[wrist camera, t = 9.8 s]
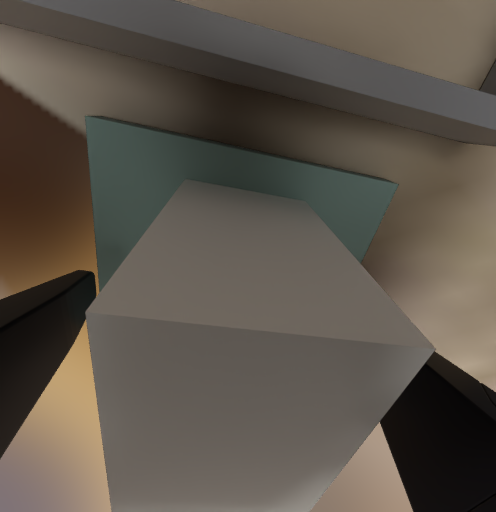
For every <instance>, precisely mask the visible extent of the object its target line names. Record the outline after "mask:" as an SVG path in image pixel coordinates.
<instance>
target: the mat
mask: <svg viewBox="0 0 496 512" xmlns="http://www.w3.org/2000/svg"><path fill="white" fill-rule="evenodd" d="M85 121H86V133H87V144H88V158H89V170H90V182H91V194H92V206H93V218H94V230H95V242H96V254H97V267H98V278H99V291H100V292H101V290H102V289H103V288H104V286H105V285H106V284H107V282H108V281H109V280H110V278H111V277H112V276H113V274H114V273H115V272H116V270H117V269H118V268H119V266H120V265H121V264H122V262H123V261H124V260H125V258H126V257H127V256H128V254H129V253H130V252H131V250H132V249H133V248H134V246H135V245H136V244H137V242H138V241H139V240H140V238H141V237H142V236H143V234H144V233H145V232H146V230H147V229H148V228H149V226H150V225H151V224H152V222H153V221H154V220H155V218H156V217H157V216H158V214H159V213H160V212H161V210H162V209H163V208H164V206H165V205H166V204H167V202H168V201H169V200H170V198H171V197H172V196H173V194H174V193H175V192H176V190H177V189H178V188H179V187H180V185H181V184H182V183H183V181H184V180H185V179H189V180H194V181H199V182H205V183H210V184H215V185H221V186H226V187H232V188H237V189H242V190H248V191H253V192H258V193H264V194H269V195H274V196H280V197H285V198H290V199H296V200H301V201H306V203H307V204H308V205H309V206H310V207H311V208H312V209H313V211H314V212H315V213H316V214H317V215H318V216H319V217H320V218H321V220H322V221H323V222H324V223H325V224H326V225H327V226H328V228H329V229H330V230H331V231H332V232H333V233H334V234H335V235H336V237H337V238H338V239H339V240H340V241H341V242H342V243H343V244H344V246H345V247H346V248H347V249H348V250H349V251H350V252H351V254H352V255H353V256H354V257H355V258H356V259H357V260H358V261H359V263H360V264H361V262H362V260H363V258H364V256H365V254H366V251H367V249H368V247H369V245H370V243H371V241H372V239H373V237H374V235H375V233H376V231H377V229H378V227H379V225H380V222H381V220H382V218H383V216H384V214H385V212H386V210H387V208H388V206H389V204H390V202H391V200H392V198H393V195H394V193H395V191H396V189H397V187H398V185H399V184H396V183H394V182H391V181H389V180H386V179H383V178H379V177H374V176H370V175H365V174H361V173H356V172H352V171H347V170H343V169H338V168H334V167H329V166H325V165H320V164H315V163H311V162H306V161H302V160H297V159H293V158H288V157H284V156H279V155H275V154H270V153H266V152H261V151H257V150H252V149H248V148H243V147H238V146H234V145H229V144H225V143H220V142H216V141H211V140H207V139H202V138H198V137H193V136H189V135H184V134H180V133H175V132H171V131H166V130H161V129H157V128H152V127H148V126H143V125H139V124H134V123H130V122H125V121H121V120H116V119H112V118H107V117H103V116H85Z"/></svg>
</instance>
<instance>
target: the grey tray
mask: <svg viewBox="0 0 496 512" xmlns="http://www.w3.org/2000/svg"><path fill="white" fill-rule="evenodd" d="M0 23H2V24H6V25H10V26H14V27H18V28H22V29H26V30H29V31H33V32H37V33H41V34H45V35H49V36H53V37H57V38H60V39H64V40H68V41H72V42H76V43H80V44H84V45H88V46H91V47H95V48H99V49H103V50H107V51H111V52H115V53H119V54H123V55H126V56H130V57H134V58H138V59H142V60H146V61H150V62H154V63H157V64H161V65H165V66H169V67H173V68H177V69H181V70H185V71H188V72H192V73H196V74H200V75H204V76H208V77H212V78H216V79H219V80H223V81H227V82H231V83H235V84H239V85H243V86H247V87H250V88H254V89H258V90H262V91H266V92H270V93H274V94H278V95H281V96H285V97H289V98H293V99H297V100H301V101H305V102H309V103H313V104H316V105H320V106H324V107H328V108H332V109H336V110H340V111H344V112H347V113H351V114H355V115H359V116H363V117H367V118H371V119H375V120H378V121H382V122H386V123H390V124H394V125H398V126H402V127H406V128H409V129H413V130H417V131H421V132H425V133H429V134H433V135H437V136H440V137H444V138H448V139H452V140H456V141H460V142H464V143H469V144H478V145H488V146H496V61H495V63H494V65H493V67H492V69H491V70H490V72H489V74H488V76H487V78H486V80H485V82H484V84H483V85H482V87H481V89H480V91H478V90H475V89H472V88H468V87H465V86H462V85H458V84H455V83H451V82H448V81H445V80H441V79H438V78H435V77H431V76H428V75H424V74H421V73H418V72H414V71H411V70H408V69H404V68H401V67H398V66H394V65H391V64H387V63H384V62H381V61H377V60H374V59H371V58H367V57H364V56H360V55H357V54H354V53H350V52H347V51H344V50H340V49H337V48H333V47H330V46H327V45H323V44H320V43H317V42H313V41H310V40H307V39H303V38H300V37H296V36H293V35H290V34H286V33H283V32H280V31H276V30H273V29H269V28H266V27H263V26H259V25H256V24H253V23H249V22H246V21H243V20H239V19H236V18H232V17H229V16H226V15H222V14H219V13H216V12H212V11H209V10H205V9H202V8H199V7H195V6H192V5H189V4H185V3H182V2H178V1H175V0H0Z"/></svg>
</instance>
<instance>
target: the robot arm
mask: <svg viewBox="0 0 496 512" xmlns="http://www.w3.org/2000/svg"><path fill="white" fill-rule="evenodd" d="M95 298H96V284H95V275H94V273H93V272H91V271H84V270H77V271H75V272H72V273H69V274H66V275H64V276H61V277H59V278H56V279H53V280H51V281H48V282H45V283H43V284H40V285H38V286H35V287H32V288H30V289H27V290H25V291H22V292H19V293H17V294H14V295H11V296H8V297H6V298H3V299H1V300H0V459H1V457H2V455H3V454H4V452H5V451H6V449H7V448H8V446H9V445H10V443H11V441H12V440H13V438H14V437H15V435H16V433H17V432H18V430H19V429H20V427H21V426H22V424H23V422H24V421H25V419H26V418H27V416H28V414H29V413H30V411H31V410H32V408H33V407H34V405H35V404H36V402H37V400H38V399H39V397H40V396H41V394H42V392H43V391H44V390H45V388H46V386H47V385H48V383H49V382H50V380H51V379H52V377H53V375H54V374H55V372H56V371H57V369H58V368H59V366H60V364H61V363H62V361H63V360H64V358H65V356H66V355H67V353H68V352H69V350H70V348H71V347H72V345H73V344H74V342H75V340H76V338H77V336H78V334H79V332H80V330H81V328H82V326H83V324H84V321H85V320H86V314H85V312H86V310H87V309H88V308H89V306H90V305H91V304H92V302H93V301H94V300H95ZM380 424H381V427H382V429H383V432H384V435H385V437H386V440H387V443H388V445H389V448H390V450H391V453H392V456H393V459H394V461H395V464H396V467H397V469H398V472H399V475H400V477H401V480H402V483H403V485H404V488H405V491H406V493H407V496H408V499H409V501H410V504H411V507H412V509H413V512H496V392H494V391H493V390H491V389H490V388H488V387H487V386H485V385H484V384H482V383H480V382H479V381H478V380H476V379H475V378H473V377H472V376H470V375H469V374H468V373H466V372H465V371H463V370H462V369H460V368H459V367H457V366H456V365H454V364H453V363H451V362H450V361H448V360H447V359H445V358H444V357H442V356H441V355H439V354H438V353H436V352H435V351H434V352H433V353H432V355H431V356H430V357H429V359H428V360H427V361H426V362H425V364H424V365H423V366H422V368H421V369H420V370H419V371H418V373H417V374H416V375H415V377H414V378H413V379H412V380H411V382H410V383H409V384H408V386H407V387H406V388H405V389H404V391H403V392H402V393H401V395H400V396H399V397H398V398H397V400H396V401H395V402H394V404H393V405H392V406H391V407H390V409H389V410H388V411H387V413H386V414H385V415H384V417H383V418H382V419H381V420H380Z"/></svg>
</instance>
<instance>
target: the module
mask: <svg viewBox="0 0 496 512" xmlns="http://www.w3.org/2000/svg"><path fill="white" fill-rule="evenodd" d="M85 314H86V322H87V329H88V336H89V344H90V352H91V359H92V366H93V374H94V382H95V389H96V397H97V405H98V412H99V420H100V427H101V434H102V442H103V450H104V458H105V464H106V473H107V480H108V487H109V495H110V503H111V510H112V512H310V510H311V509H312V508H313V507H314V505H315V504H316V503H317V501H318V500H319V499H320V498H321V496H322V495H323V494H324V492H325V491H326V490H327V489H328V487H329V486H330V485H331V483H332V482H333V481H334V479H335V478H336V477H337V476H338V474H339V473H340V472H341V471H342V469H343V468H344V467H345V465H346V464H347V463H348V461H349V460H350V459H351V458H352V456H353V455H354V454H355V452H356V451H357V450H358V449H359V447H360V446H361V445H362V444H363V442H364V441H365V440H366V438H367V437H368V436H369V435H370V433H371V432H372V431H373V429H374V428H375V427H376V426H377V424H378V423H379V422H380V420H381V419H382V418H383V417H384V415H385V414H386V413H387V411H388V410H389V409H390V407H391V406H392V405H393V404H394V402H395V401H396V400H397V398H398V397H399V396H400V395H401V393H402V392H403V391H404V389H405V388H406V387H407V386H408V384H409V383H410V382H411V380H412V379H413V378H414V377H415V375H416V374H417V373H418V371H419V370H420V369H421V368H422V366H423V365H424V364H425V362H426V361H427V360H428V359H429V357H430V356H431V355H432V353H433V352H434V351H435V350H436V349H435V348H434V346H433V345H432V344H431V343H430V342H429V341H428V340H427V339H426V337H425V336H424V335H423V334H422V333H421V332H420V331H419V329H418V328H417V327H416V326H415V325H414V324H413V323H412V322H411V320H410V319H409V318H408V317H407V316H406V315H405V314H404V312H403V311H402V310H401V309H400V308H399V307H398V306H397V305H396V303H395V302H394V301H393V300H392V299H391V298H390V297H389V295H388V294H387V293H386V292H385V291H384V290H383V289H382V288H381V286H380V285H379V284H378V283H377V282H376V281H375V280H374V278H373V277H372V276H371V275H370V274H369V273H368V272H367V271H366V269H365V268H364V267H363V266H362V265H361V264H360V263H359V261H358V260H357V259H356V258H355V257H354V256H353V255H352V254H351V252H350V251H349V250H348V249H347V248H346V247H345V246H344V244H343V243H342V242H341V241H340V240H339V239H338V238H337V237H336V235H335V234H334V233H333V232H332V231H331V230H330V229H329V228H328V226H327V225H326V224H325V223H324V222H323V221H322V220H321V218H320V217H319V216H318V215H317V214H316V213H315V212H314V211H313V209H312V208H311V207H310V206H309V205H308V204H307V203H306V201H301V200H296V199H290V198H285V197H280V196H274V195H269V194H264V193H258V192H253V191H248V190H242V189H237V188H232V187H226V186H221V185H215V184H210V183H205V182H199V181H194V180H189V179H185V180H184V181H183V183H182V184H181V185H180V187H179V188H178V189H177V190H176V192H175V193H174V194H173V196H172V197H171V198H170V200H169V201H168V202H167V204H166V205H165V206H164V208H163V209H162V210H161V212H160V213H159V214H158V216H157V217H156V218H155V220H154V221H153V222H152V224H151V225H150V226H149V228H148V229H147V230H146V232H145V233H144V234H143V236H142V237H141V238H140V240H139V241H138V242H137V244H136V245H135V246H134V248H133V249H132V250H131V252H130V253H129V254H128V256H127V257H126V258H125V260H124V261H123V262H122V264H121V265H120V266H119V268H118V269H117V270H116V272H115V273H114V274H113V276H112V277H111V278H110V280H109V281H108V282H107V284H106V285H105V286H104V288H103V289H102V290H101V292H100V293H99V294H98V296H97V297H96V298H95V300H94V301H93V302H92V304H91V305H90V306H89V308H88V309H87V310H86V312H85Z"/></svg>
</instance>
